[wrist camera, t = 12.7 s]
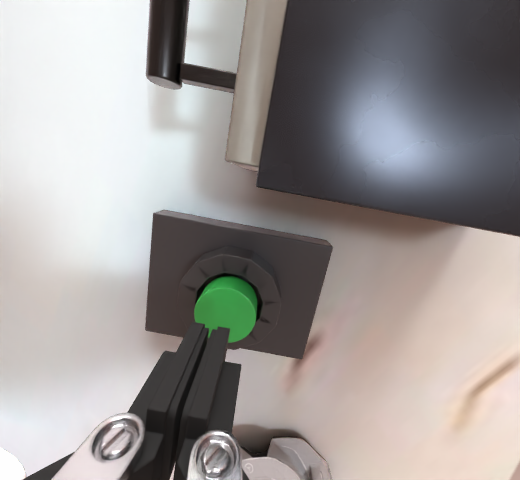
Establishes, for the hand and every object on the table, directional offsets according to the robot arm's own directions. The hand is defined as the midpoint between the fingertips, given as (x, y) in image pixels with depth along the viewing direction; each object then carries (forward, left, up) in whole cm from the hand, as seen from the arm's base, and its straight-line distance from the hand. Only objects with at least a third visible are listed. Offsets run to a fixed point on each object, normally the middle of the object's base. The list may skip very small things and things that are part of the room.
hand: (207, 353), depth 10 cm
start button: (0, 0, -5) cm, 5 cm away
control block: (0, 0, -8) cm, 8 cm away
